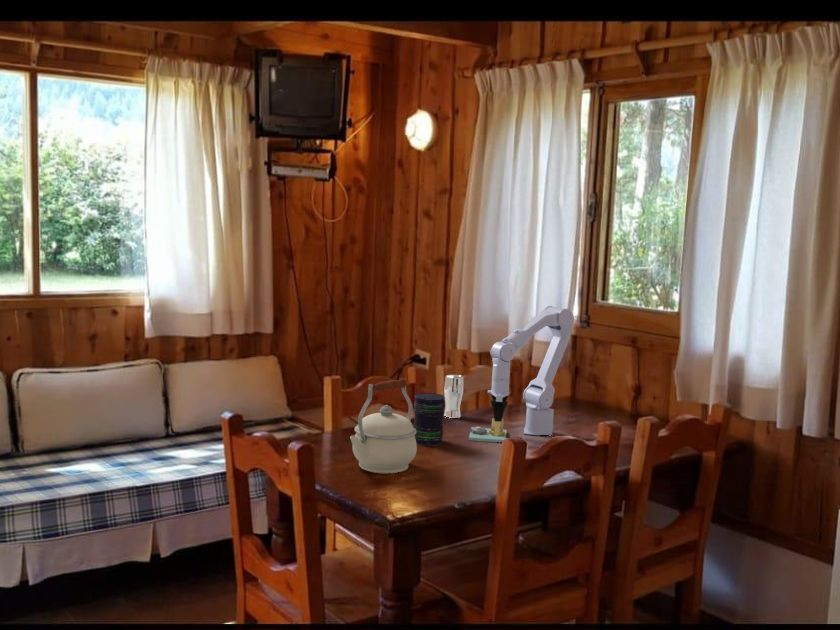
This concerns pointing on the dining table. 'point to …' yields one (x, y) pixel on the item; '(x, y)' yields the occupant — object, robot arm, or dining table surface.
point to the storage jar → (429, 418)
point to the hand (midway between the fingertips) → (498, 418)
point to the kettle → (385, 435)
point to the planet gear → (497, 428)
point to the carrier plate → (484, 435)
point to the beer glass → (453, 395)
